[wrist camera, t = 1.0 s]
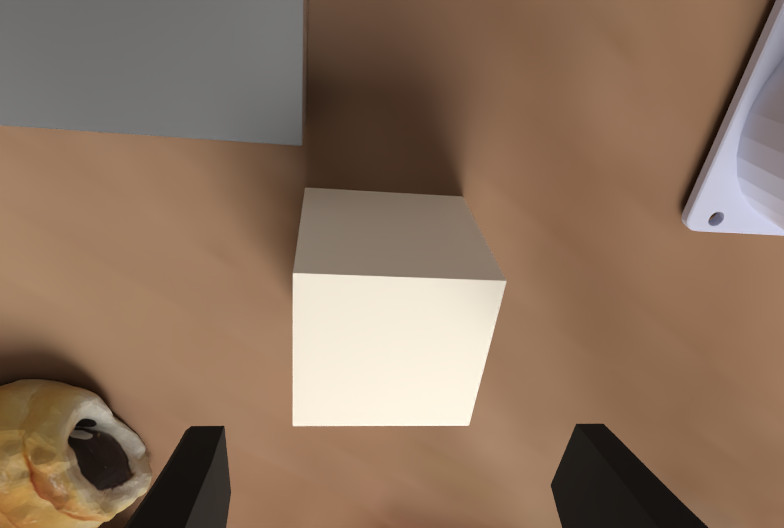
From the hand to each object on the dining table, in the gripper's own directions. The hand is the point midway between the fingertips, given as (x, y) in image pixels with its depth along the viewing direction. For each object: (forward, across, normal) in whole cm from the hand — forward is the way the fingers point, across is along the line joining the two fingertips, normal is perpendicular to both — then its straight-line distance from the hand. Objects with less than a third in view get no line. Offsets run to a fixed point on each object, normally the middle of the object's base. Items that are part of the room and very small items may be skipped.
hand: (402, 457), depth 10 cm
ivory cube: (+8, 0, 0) cm, 8 cm away
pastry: (+8, +13, +9) cm, 18 cm away
